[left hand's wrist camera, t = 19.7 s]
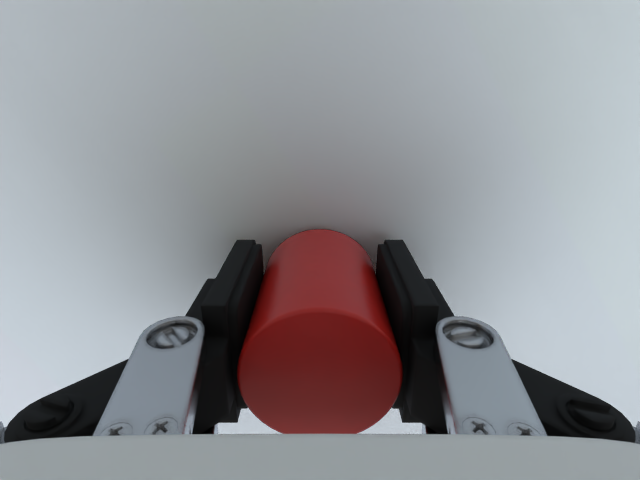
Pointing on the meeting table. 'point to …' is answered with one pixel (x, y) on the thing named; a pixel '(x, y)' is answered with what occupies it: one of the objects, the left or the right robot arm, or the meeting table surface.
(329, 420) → the red cylinder
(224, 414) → the left robot arm
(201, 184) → the meeting table surface
